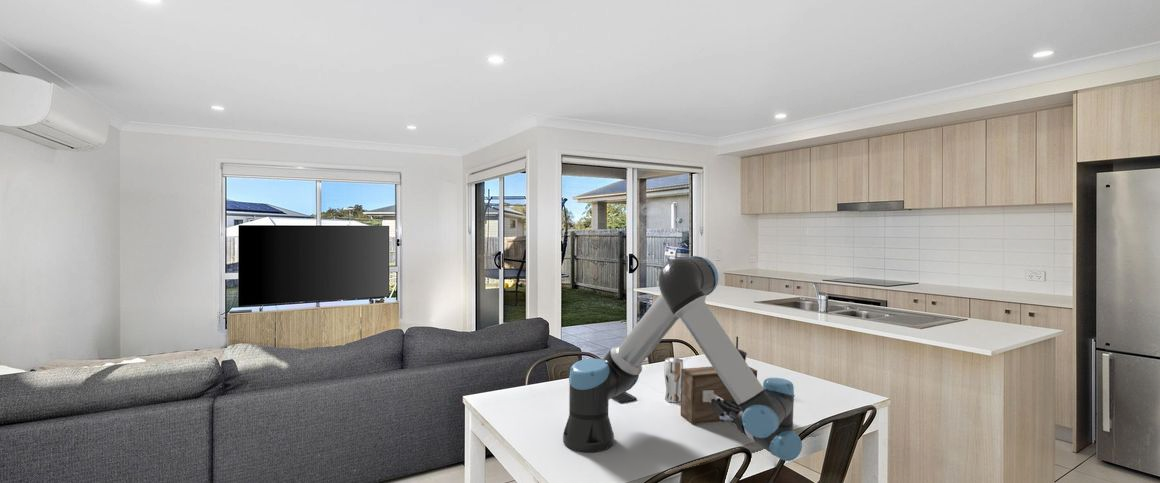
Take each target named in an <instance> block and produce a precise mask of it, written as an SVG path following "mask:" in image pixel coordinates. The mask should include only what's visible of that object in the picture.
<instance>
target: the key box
mask: <svg viewBox="0 0 1160 483" xmlns="http://www.w3.org/2000/svg"><path fill="white" fill-rule="evenodd" d="M749 368H750V369H751V371H752V372H753V373H754V375H755V376H756V378H757V379H758V370H757V369H755V368H752V367H750V366H749ZM706 389H712V390H714V394H715V395H717V396H719V397H720V398H722V399H724V400H728V401H730V402H731V400H734V398H733V397H732V395H731V394H730V392H729V391H728V389H727V388H726V386H725V385H724V383H723V382H722V380H721V379H720V377H719V376H718V374H717V372H716V371H715V369H714V368H713V366H712V365H711V366H702V367H701V366H700V367H689V368H686V367H685V368H683V369H681V402H680V417H682V418H683V419H684V420H686V421H687V422H688V423H690V424H691V425H698V424H709V423H716V422H720V418H719V417H718V416H717V415H716V414H715V412H714V411H713V405H712V404H711V403H710V402H702V390H706ZM734 401H735V400H734ZM727 421H729V420H726V422H727Z"/></svg>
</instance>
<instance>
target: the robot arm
mask: <svg viewBox="0 0 1160 483" xmlns="http://www.w3.org/2000/svg"><path fill="white" fill-rule="evenodd" d="M718 283H719V273H718V269H717V268H716V266H715V264H714V263H713V262H712V261H711V260H709V259H707V257H703V256H697V255H692V256H688V257H681V258H680V257H679V258H674V259H672V260H670V261H668V262H667V263H665V264H664V265H663V266H662V268H661V270H660V271H659V276H658V286H659V290H660V294H659V296H657V298H656V299H655V300H654V302H653V303H652V304H651V305H650V307H649V308H648V309H647V311H646V312H645V313H644V314H643V316H642V317H641V318H640V319H639V321H638V322H637V323H636V324H635V326H634V327H633V328H632V329H631V331H630V332H629V334H628V335H627V336H626V338H624V340H623V341H622V343H621V344H619V345H613V346H612V348H611V349H610V350H609V351H608V353H607V354H606V355H605V356H604V357H603V359H602V358H588V359H585V358H584V359H581V360H578V361H576V362H575V363H574V364H572V365H571V367H570V369H569V377H568V383H569V391H568V392H569V395H568V398H569V400H568V401H569V402H568V403H569V404H568V406H569V407H568V408H569V409H568V410H569V414H568V418H567V422H566V424H565V428H564V430H563V434H562V441H563V444H564V446H566V447H567V448H569V449H571V450H573V451H577V452H581V453H582V452H584V453H595V452H596V453H597V452H601V451H606V450H608V449H609V448H611V447H612V446H613V445H614V443H615V435H614V434H615V433H614V431H613V427H612V424H611V421H610V418H609V417H610V416H609V400H610V399H611V398H613V397H615V396H617V395H619V394H621V393H623V392H627V391H629V390H631V389H632V388H633V387H634V386H635V385H636V384H637V382H638V380H639V376H640V375H641V372H642V370H643V366H642V364H643V362H644V361H645V360H646V359H647V358H648V356H649V355H651V353H652V352H653V350H654V349H655V348H656V347H657V346H658V344H660V342H661V341H662V339H664V337H665V336H666V335H667V334H668V332H669V331H670V330H671V329H672V327H674V325H675V324H676V322H677V321H678V320H679V319H680V320H681V321H682V323H683V324H684V326H685V327H686V329H687V330H688V332H689V333H690V334H691V336H692V337H693V339H694V341H695V342H696V344H697V345H698V346H699V348H700V349H701V351H702V352H703V354H704V356H705V358H707V360H708V361H709V363H710V364H711V367H712V366H713V368H714V369H715V371H716V372H717V374H718V376H719V377H720V379H721V380H722V382H723V383H724V385H725V386H726V388H727V389H728V391H729V392H730V394H731V395H732V397H733V398H734V400H735V401H734V400H731V402H730V401H728V400H724V399H722V398H720V397H719V396H717V395H715V394H714V393H708V402H710V403H711V404H712V405H713V411H714V412H715V414H716V415H717V416H718V417H719V418H720V421H719V422H720V423H724V422H725V421H726V420H728V421H729V422H730V423H731V424H734V425H735V428H737V429H736V430H738V432H740V433H741V434H743V435H744V436H746V437H747V438H749V439H751V440H752V441H754V442H755V443H756V444H758V445H759V446H761V447H762V449H764V450H766V451H768V452H769V453H770V454H771V455H772V456H774V457H776V458H778V459H779V460H783V461H785V462H791V461H794V460H796V459H797V458H798V457H799V455H801V452H802V448H803V442H802V440H801V437H800V436H799V435H798V434H797V433H796V432H795V431H794V404H795V403H794V401H795V389H794V388H795V386H794V383H793V382H792V381H790V380H789V379H785V378H783V377H781V378H780V377H767V378H765V379H764V380H763V385H762V384H761V382H760V381H759V379H758V377H757V378H756V376H755V375H754V373H753V372H752V371H751V369H750V368H749V367H750V366H749V365H748V363H747V361H746V360H744V359H743V357H742V356H741V354H740V353H739V351H738V350H737V348H736V345H735V344H734V343H733V341H732V339H731V338H730V337H729V335H728V334H727V332H726V331H725V330H724V328H723V326H722V325H721V324H720V321H718V319H717V317H716V316H715V315H714V313H713V311H712V310H711V309H710V307H709V306H708V304H707V303H706V299H707V296H708V295H709V296H710V295H711V294H712V293H713V292H714V291H715V289H716V288H717V286H718ZM611 400H612V399H611ZM726 422H727V421H726Z"/></svg>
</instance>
